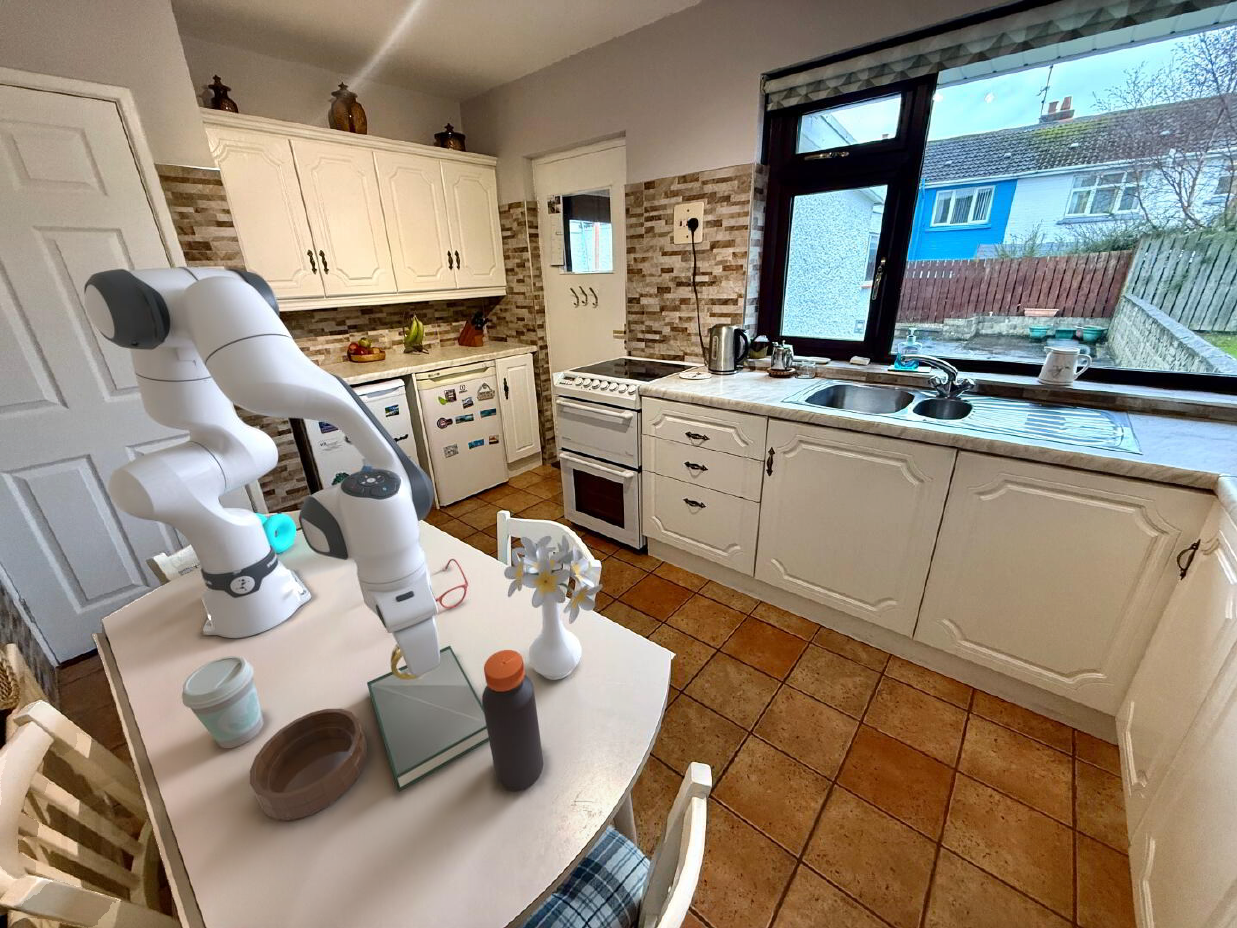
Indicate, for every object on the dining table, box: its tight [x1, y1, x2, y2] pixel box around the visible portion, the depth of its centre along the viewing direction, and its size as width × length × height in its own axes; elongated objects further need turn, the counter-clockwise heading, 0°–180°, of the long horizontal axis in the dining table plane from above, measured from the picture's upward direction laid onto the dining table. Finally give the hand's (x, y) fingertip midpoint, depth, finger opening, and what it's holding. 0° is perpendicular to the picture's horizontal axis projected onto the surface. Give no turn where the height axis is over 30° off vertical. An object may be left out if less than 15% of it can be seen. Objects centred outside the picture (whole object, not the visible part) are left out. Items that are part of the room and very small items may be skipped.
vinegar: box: [481, 649, 544, 792], centre depth 66 cm, size 7×7×20 cm
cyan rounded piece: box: [254, 512, 297, 554], centre depth 124 cm, size 10×10×10 cm
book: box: [366, 645, 489, 792], centre depth 78 cm, size 20×14×3 cm
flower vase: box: [503, 535, 603, 681], centre depth 82 cm, size 13×18×25 cm
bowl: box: [249, 708, 368, 821], centre depth 69 cm, size 13×13×5 cm
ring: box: [389, 643, 432, 680], centre depth 74 cm, size 7×3×8 cm, turn 118°
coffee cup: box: [181, 655, 264, 749], centre depth 74 cm, size 8×8×12 cm
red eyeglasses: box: [435, 558, 469, 609], centre depth 105 cm, size 17×16×5 cm
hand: (415, 656), depth 74 cm, fingers closed on ring, 2 cm apart
